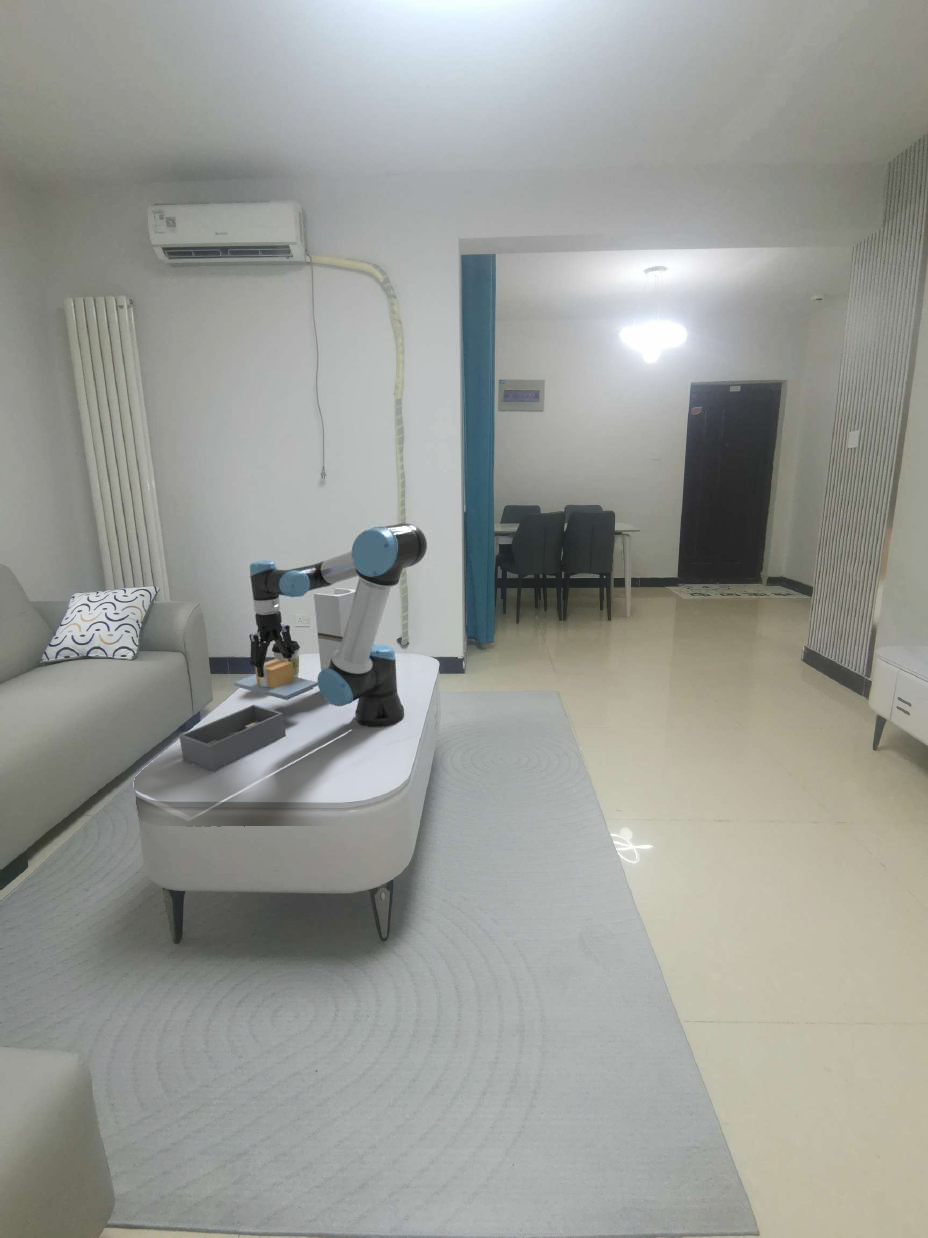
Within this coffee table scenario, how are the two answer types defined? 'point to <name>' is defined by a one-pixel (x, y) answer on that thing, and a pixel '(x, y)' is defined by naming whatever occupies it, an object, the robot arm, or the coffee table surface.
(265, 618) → the robot arm
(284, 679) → the lid
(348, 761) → the coffee table surface
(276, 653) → the coffee cup
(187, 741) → the tub
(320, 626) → the tall white vase
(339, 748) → the coffee table surface
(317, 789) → the coffee table surface
